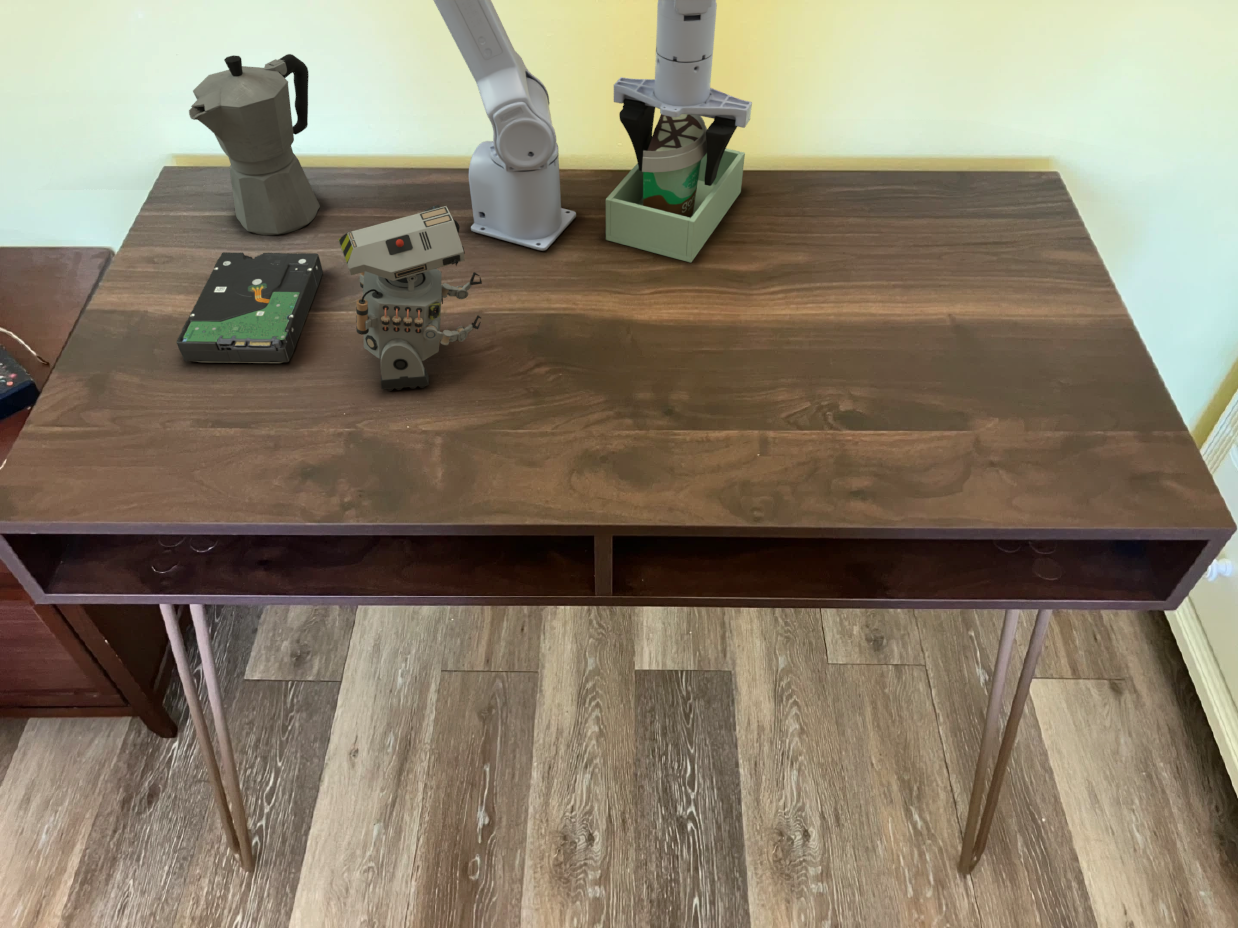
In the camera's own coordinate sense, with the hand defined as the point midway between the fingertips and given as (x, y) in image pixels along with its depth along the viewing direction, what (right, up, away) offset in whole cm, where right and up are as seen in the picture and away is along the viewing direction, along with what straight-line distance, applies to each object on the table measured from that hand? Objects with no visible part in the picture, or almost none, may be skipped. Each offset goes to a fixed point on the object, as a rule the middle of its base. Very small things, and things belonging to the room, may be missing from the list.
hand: (677, 173), depth 103 cm
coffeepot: (-45, -3, +5) cm, 45 cm away
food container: (0, -3, +4) cm, 5 cm away
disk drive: (-43, -17, -9) cm, 47 cm away
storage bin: (0, -4, +4) cm, 5 cm away
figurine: (-25, -22, -13) cm, 36 cm away
